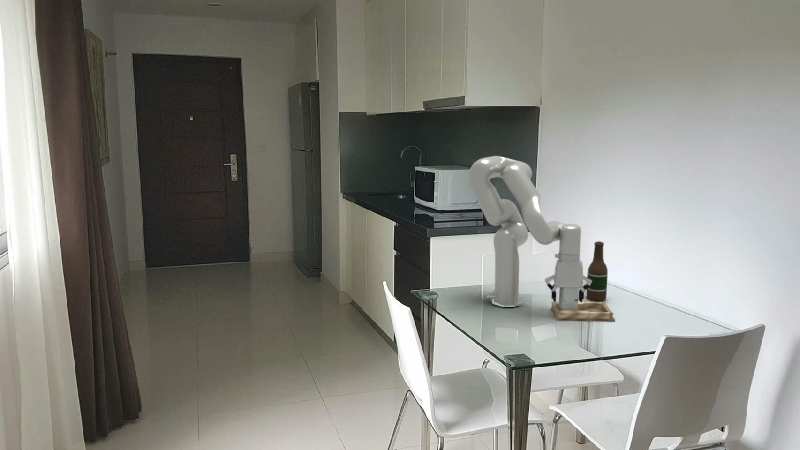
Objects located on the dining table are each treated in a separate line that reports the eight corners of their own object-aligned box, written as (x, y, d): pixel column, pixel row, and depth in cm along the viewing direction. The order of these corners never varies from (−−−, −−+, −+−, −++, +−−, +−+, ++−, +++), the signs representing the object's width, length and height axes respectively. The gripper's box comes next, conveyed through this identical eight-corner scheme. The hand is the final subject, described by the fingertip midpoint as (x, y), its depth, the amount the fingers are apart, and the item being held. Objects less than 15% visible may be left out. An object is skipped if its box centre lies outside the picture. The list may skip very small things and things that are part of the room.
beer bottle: (607, 302, 238) (610, 244, 233) (587, 301, 240) (590, 244, 235) (604, 296, 245) (608, 240, 241) (585, 295, 247) (588, 239, 242)
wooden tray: (556, 320, 220) (557, 312, 219) (551, 308, 232) (551, 301, 232) (614, 321, 218) (615, 313, 217) (606, 309, 230) (606, 302, 230)
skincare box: (562, 315, 223) (564, 284, 220) (557, 311, 227) (559, 280, 225) (578, 314, 224) (579, 283, 221) (573, 310, 228) (574, 279, 225)
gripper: (547, 259, 218) (545, 303, 221) (595, 260, 216) (592, 304, 220) (544, 254, 225) (542, 297, 229) (590, 254, 224) (588, 298, 227)
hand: (567, 300), depth 224 cm, fingers open, 9 cm apart
